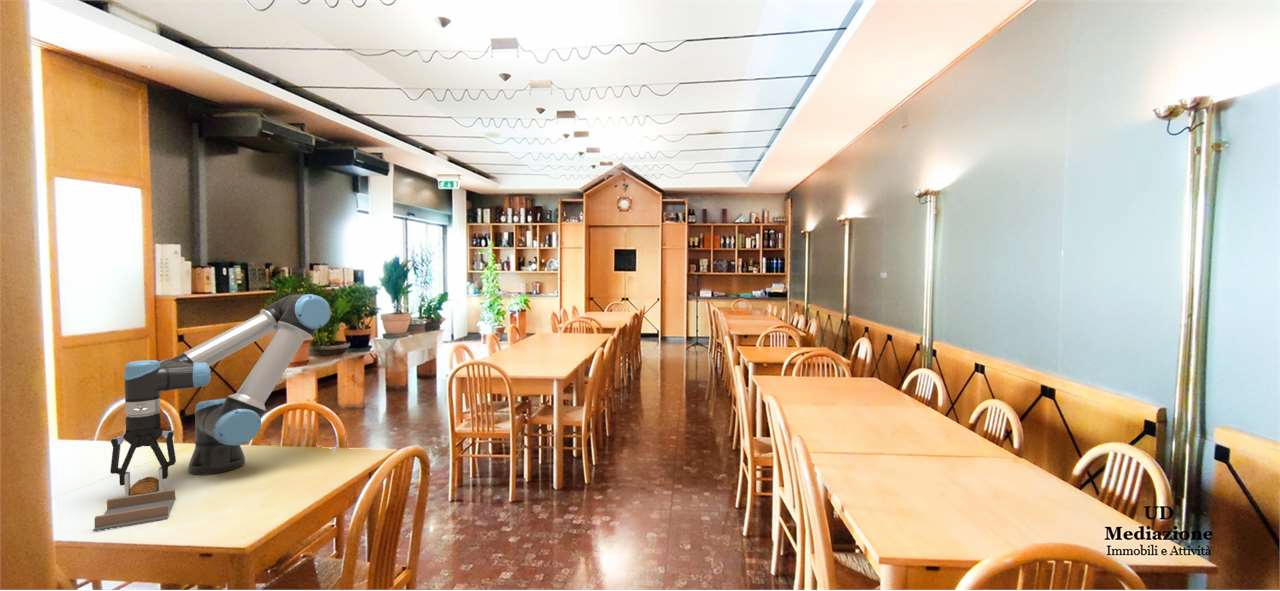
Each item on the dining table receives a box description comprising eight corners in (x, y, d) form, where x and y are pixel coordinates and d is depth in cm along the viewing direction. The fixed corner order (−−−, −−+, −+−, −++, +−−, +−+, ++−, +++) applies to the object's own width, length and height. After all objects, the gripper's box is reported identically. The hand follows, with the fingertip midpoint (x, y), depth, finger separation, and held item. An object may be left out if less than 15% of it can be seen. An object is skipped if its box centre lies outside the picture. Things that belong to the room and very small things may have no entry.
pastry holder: (175, 498, 158) (175, 487, 158) (167, 519, 144) (167, 507, 144) (109, 509, 150) (109, 497, 150) (93, 532, 136) (93, 519, 136)
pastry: (156, 496, 158) (156, 483, 158) (124, 502, 154) (124, 488, 154) (162, 486, 165) (161, 474, 165) (132, 491, 162) (131, 478, 162)
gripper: (92, 421, 151) (94, 504, 151) (185, 412, 162) (186, 489, 162) (99, 416, 157) (101, 496, 158) (188, 407, 168) (189, 482, 169)
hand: (144, 492), depth 160 cm, fingers closed on pastry, 7 cm apart
